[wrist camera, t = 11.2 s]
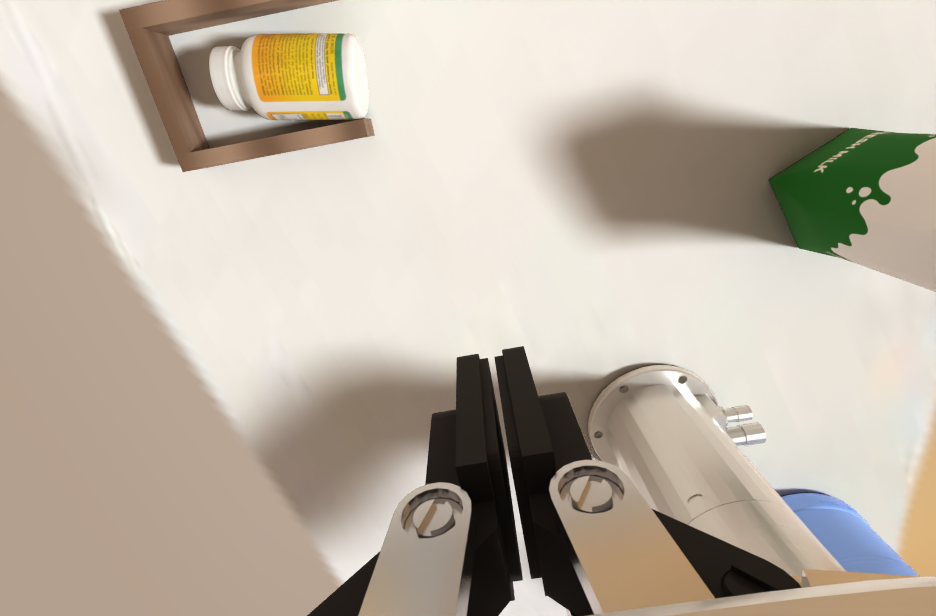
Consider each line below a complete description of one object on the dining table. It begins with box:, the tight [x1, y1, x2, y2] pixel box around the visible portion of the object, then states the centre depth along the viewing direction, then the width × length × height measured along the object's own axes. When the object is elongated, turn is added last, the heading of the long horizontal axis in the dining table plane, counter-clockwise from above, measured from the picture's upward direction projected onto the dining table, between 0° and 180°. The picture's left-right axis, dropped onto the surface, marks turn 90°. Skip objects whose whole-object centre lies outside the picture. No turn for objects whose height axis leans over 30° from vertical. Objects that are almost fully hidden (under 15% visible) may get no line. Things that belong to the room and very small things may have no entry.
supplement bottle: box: [209, 34, 369, 120], centre depth 32 cm, size 5×5×10 cm
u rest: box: [119, 0, 374, 172], centre depth 33 cm, size 14×10×3 cm
